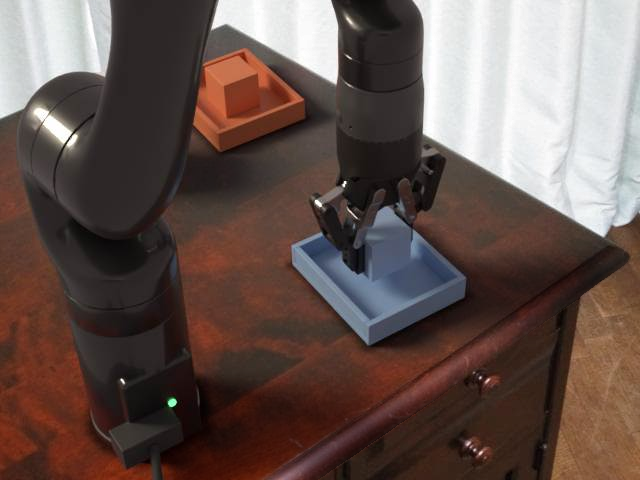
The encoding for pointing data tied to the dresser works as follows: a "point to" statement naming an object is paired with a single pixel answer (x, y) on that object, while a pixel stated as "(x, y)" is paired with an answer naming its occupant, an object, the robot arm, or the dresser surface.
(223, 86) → the clay block
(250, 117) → the clay tray
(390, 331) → the blue tray
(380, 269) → the blue block
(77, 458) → the dresser surface
